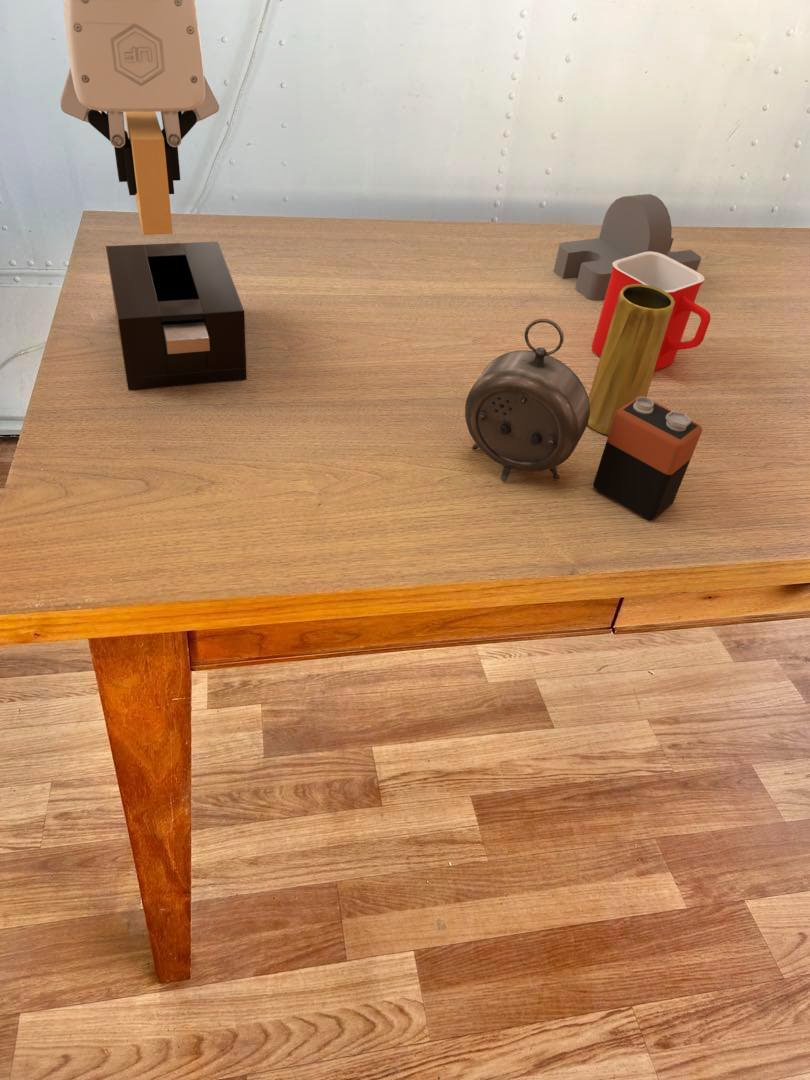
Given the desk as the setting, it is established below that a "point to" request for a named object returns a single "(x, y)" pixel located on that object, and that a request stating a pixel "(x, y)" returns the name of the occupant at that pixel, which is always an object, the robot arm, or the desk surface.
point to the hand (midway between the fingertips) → (150, 187)
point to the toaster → (176, 313)
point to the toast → (150, 172)
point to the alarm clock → (527, 410)
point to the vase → (629, 352)
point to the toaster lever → (186, 338)
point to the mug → (669, 279)
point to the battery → (646, 456)
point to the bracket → (620, 244)
